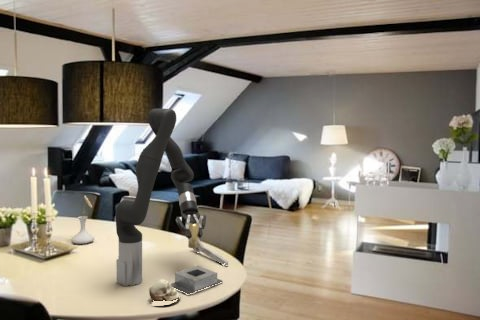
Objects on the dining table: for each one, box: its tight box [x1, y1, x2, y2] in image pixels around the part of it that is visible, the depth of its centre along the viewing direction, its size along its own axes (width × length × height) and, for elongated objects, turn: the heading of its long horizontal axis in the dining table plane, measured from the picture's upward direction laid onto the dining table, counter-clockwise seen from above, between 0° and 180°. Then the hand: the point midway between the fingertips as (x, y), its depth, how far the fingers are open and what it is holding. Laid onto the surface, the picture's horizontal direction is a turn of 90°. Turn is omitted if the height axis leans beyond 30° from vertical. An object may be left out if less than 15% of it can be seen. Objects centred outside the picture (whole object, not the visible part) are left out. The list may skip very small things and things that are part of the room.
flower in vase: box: [71, 195, 95, 245], centre depth 217 cm, size 13×11×25 cm
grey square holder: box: [170, 265, 223, 294], centre depth 163 cm, size 18×12×5 cm, turn 137°
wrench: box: [192, 239, 229, 267], centre depth 196 cm, size 8×2×30 cm
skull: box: [148, 278, 181, 304], centre depth 148 cm, size 12×10×10 cm
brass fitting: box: [187, 223, 200, 249], centre depth 175 cm, size 4×4×10 cm
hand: (194, 237), depth 173 cm, fingers closed on brass fitting, 4 cm apart
